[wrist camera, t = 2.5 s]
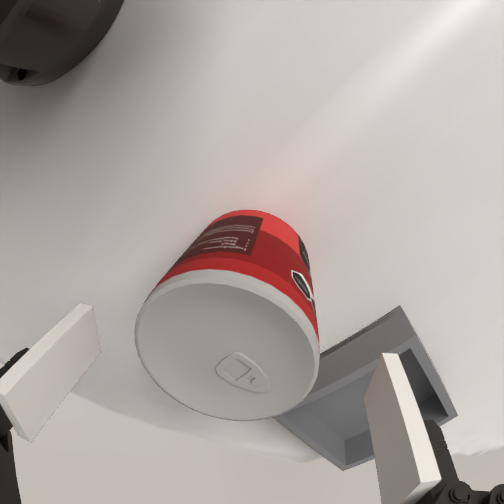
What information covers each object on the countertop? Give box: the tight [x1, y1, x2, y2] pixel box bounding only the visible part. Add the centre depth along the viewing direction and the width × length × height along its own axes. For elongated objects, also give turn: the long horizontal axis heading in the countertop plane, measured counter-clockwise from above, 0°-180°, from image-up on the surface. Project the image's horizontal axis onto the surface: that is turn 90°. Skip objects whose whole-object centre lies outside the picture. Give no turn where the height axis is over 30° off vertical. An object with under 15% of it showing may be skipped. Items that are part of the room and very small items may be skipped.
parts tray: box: [273, 306, 458, 471], centre depth 24 cm, size 13×13×4 cm
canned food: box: [135, 210, 320, 421], centre depth 17 cm, size 8×8×11 cm
